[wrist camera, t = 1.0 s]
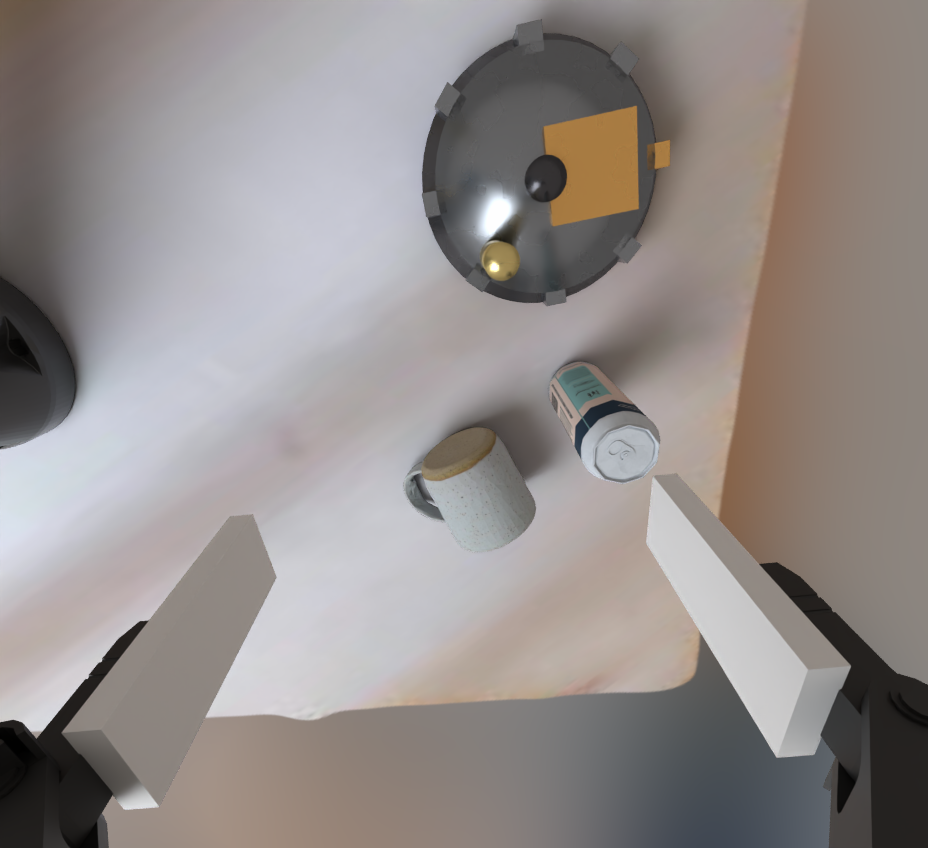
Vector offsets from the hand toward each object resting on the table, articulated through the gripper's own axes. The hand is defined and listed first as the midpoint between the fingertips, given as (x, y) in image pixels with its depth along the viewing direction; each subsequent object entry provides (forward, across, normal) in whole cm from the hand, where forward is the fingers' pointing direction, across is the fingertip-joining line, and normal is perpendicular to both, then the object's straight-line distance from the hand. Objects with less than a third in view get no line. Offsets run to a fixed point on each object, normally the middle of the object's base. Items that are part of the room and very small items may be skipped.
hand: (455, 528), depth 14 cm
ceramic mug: (+23, 0, -12) cm, 25 cm away
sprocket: (+22, +7, +11) cm, 26 cm away
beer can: (+22, +10, -4) cm, 25 cm away
